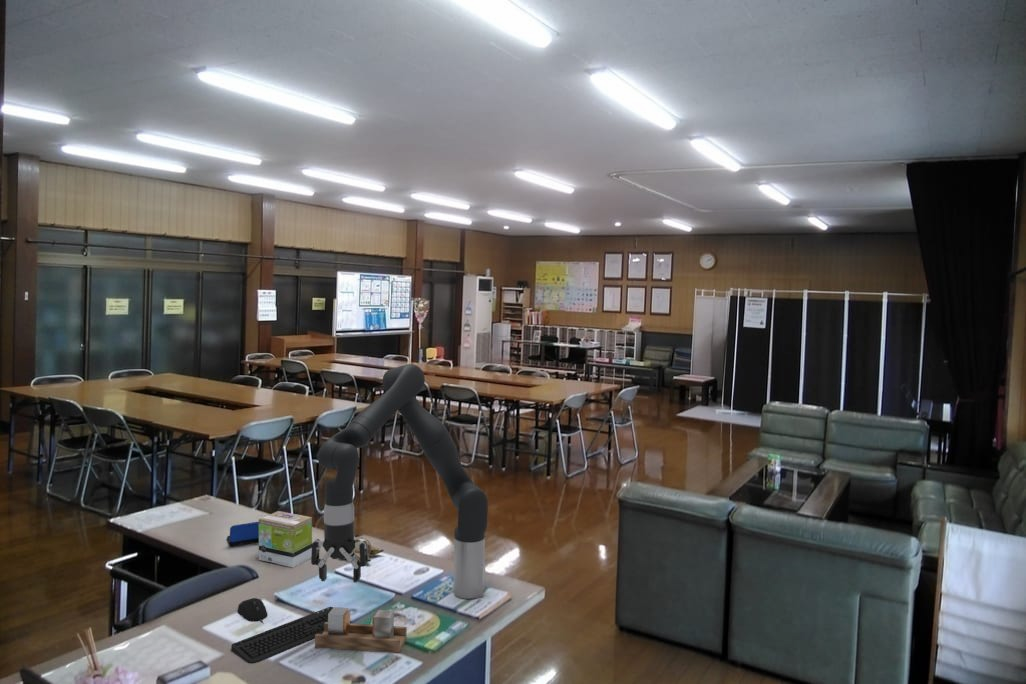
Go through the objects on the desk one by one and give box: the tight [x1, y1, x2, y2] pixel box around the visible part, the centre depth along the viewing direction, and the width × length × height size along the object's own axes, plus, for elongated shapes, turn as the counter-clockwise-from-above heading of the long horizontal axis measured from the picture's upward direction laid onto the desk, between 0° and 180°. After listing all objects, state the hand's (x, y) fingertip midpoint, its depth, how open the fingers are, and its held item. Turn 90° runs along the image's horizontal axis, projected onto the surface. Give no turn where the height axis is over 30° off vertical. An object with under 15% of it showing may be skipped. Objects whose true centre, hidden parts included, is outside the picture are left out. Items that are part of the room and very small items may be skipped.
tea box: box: [258, 510, 313, 569], centre depth 229 cm, size 15×10×15 cm
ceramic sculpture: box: [354, 534, 385, 563], centre depth 231 cm, size 11×9×15 cm
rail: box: [314, 609, 408, 653], centre depth 175 cm, size 22×8×8 cm, turn 85°
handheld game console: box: [226, 521, 259, 548], centre depth 246 cm, size 16×13×9 cm
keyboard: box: [230, 606, 352, 665], centre depth 178 cm, size 30×11×2 cm, turn 139°
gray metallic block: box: [328, 606, 351, 636], centre depth 175 cm, size 4×5×7 cm
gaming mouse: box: [237, 597, 268, 625], centre depth 189 cm, size 6×15×4 cm, turn 40°
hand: (339, 580), depth 174 cm, fingers open, 8 cm apart
